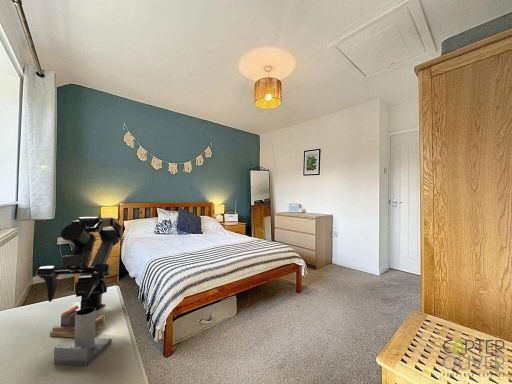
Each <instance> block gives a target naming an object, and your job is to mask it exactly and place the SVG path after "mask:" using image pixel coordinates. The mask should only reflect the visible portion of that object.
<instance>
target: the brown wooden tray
mask: <svg viewBox="0 0 512 384" xmlns="http://www.w3.org/2000/svg"><path fill="white" fill-rule="evenodd" d="M104 325H105V315H103V314H101V315H100V316H98V317H97V318H96V319H95V332H97V331H98V330H99V329H100V328H102V327H103V326H104ZM49 337H63V338H64V337H65V338H75V325H74V326H73V327H64V326H61V325H60V326H59V325H54V326H53V327H52V330H51V331H50V332H49Z"/></svg>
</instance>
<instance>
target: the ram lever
mask: <svg viewBox="0 0 512 384" xmlns="http://www.w3.org/2000/svg"><path fill="white" fill-rule="evenodd" d="M79 308H80V307H79V306H78V305H75V306H74V307H71V308H69V309H67V310H66V311H64V312H63V313H61V315H60V326H64V327H73V326H74V325H75V313H76V312H77V311H78V310H79Z"/></svg>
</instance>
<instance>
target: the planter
mask: <svg viewBox="0 0 512 384" xmlns="http://www.w3.org/2000/svg"><path fill="white" fill-rule="evenodd" d="M76 311H77V312H76V313H75V337H74V340H73V341H74V343H73V344H74V346H86V347H90V349H92V348H93V347H94V345H95V338H96V331H95V319H97V318H96V317H97V316H96V314H97V313H96V308H95V307H86V308H83V309H77V310H76Z"/></svg>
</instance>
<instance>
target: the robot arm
mask: <svg viewBox="0 0 512 384" xmlns="http://www.w3.org/2000/svg"><path fill="white" fill-rule="evenodd" d="M109 227H110V228H109ZM93 233H98V235H99V238H100V241H101V242H100V245H99V247H98V249H97V251H96V253H95V256H94V258H93V260H92V261H91V259H92V256H93V255H92V254H93V251H94V247H95V243H96V241H97V238H96V236H95V234H93ZM123 235H124V234H123V228H122V226H121V224H119V223H118V222H117V221H116V219H115V217H101V216H80V217H78V219H77V220H72V221H71V223H70V224H68V225H65V227H64V228H63V229H61V232H60V236H61V238H62V239H63V240H65V241H66V243H68V244H70V245H72V248H71V250H70V251H69V253H68V255H62V256H61V260H60V261H61V262H60V265H59V266H60V268H59V267H57V266H56V265H46V266H45V265H44V266H39V268H37V270H36V273H35V275H34V276H35V277H37V278H39V279H40V280H42V281H44V282H45V284H46V289H47V300H48V302H49V303H50V302H51V303H52V301H53V299H54V297H55V293H56V289H57V286H58V283H59V279H58V277H59V276H63V275H79V276H78V278H77V280H76V281H75V284H74V291H75V297H76V298H77V297H78V298H79V297H81V299H80V300H81V301H80V307H79V308H80V309H83V308H86V307H95V308H96V311H97V312H98V311H100V310H101V309H103V308H104V307H106V304H104V303H102V299H103V298H102V297H103V294H105V293H107V291H108V282H107V281H106V277H107V276H111V273H112V268H111V266H110V265H109V263H108V259H109V257H110V254H111V252H112V249H113V247H114V246H115V245H117V244H119V242H120V241H121V239H122V237H123ZM90 263H91V264H90ZM80 309H79V310H80ZM99 309H100V310H99Z"/></svg>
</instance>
